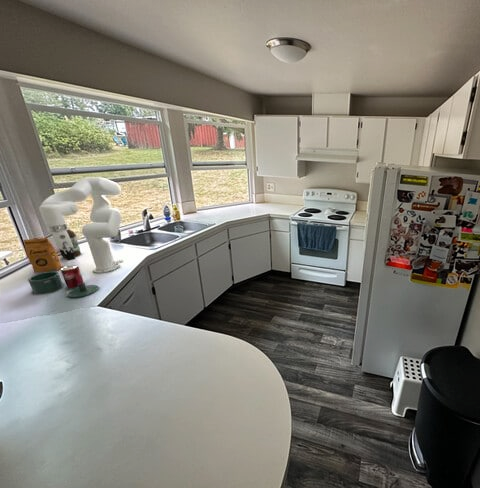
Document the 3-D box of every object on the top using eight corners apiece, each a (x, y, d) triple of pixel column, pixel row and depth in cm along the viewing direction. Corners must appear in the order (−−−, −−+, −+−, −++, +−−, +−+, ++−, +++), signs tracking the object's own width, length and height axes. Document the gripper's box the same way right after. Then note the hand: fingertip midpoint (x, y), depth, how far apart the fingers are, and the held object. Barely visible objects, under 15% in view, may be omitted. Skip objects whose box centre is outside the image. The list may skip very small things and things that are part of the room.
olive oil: (58, 259, 179) (45, 225, 170) (69, 253, 189) (57, 221, 180) (76, 258, 181) (64, 225, 173) (85, 252, 191) (75, 221, 182)
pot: (59, 280, 151) (54, 268, 149) (66, 289, 142) (61, 276, 139) (31, 288, 142) (25, 275, 140) (36, 298, 133) (30, 284, 130)
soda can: (74, 289, 142) (67, 271, 137) (63, 288, 143) (56, 269, 139) (87, 283, 148) (81, 265, 144) (78, 282, 150) (71, 264, 145)
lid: (94, 284, 148) (92, 275, 146) (101, 291, 141) (99, 282, 139) (65, 293, 138) (62, 284, 136) (71, 301, 132) (68, 291, 130)
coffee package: (57, 271, 161) (45, 239, 154) (31, 274, 157) (17, 242, 149) (65, 265, 170) (53, 235, 162) (40, 268, 165) (27, 237, 158)
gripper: (71, 229, 129) (82, 259, 135) (62, 223, 138) (73, 251, 144) (51, 233, 123) (63, 264, 130) (43, 226, 132) (55, 255, 139)
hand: (68, 257), depth 137 cm, fingers open, 9 cm apart
